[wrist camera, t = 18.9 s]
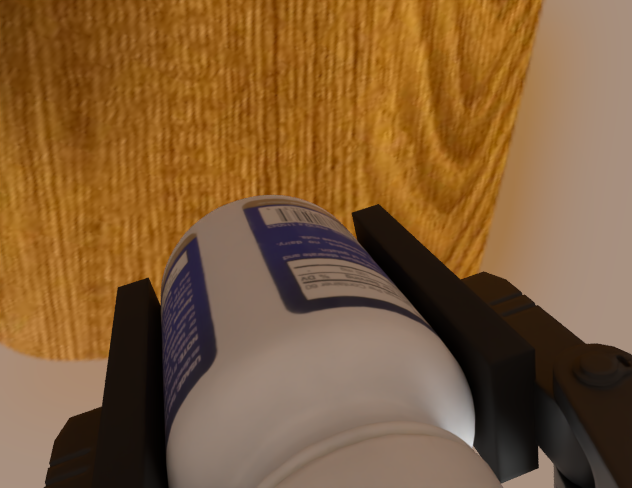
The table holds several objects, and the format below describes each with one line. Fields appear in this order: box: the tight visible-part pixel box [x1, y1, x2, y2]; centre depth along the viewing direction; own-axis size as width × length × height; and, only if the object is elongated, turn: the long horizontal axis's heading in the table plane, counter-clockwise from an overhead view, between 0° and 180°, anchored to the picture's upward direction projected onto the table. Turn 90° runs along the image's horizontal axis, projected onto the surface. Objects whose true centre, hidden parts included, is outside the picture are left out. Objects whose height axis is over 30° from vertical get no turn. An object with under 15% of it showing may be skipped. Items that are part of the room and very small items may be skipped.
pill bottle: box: [161, 195, 503, 488], centre depth 10 cm, size 5×5×9 cm
